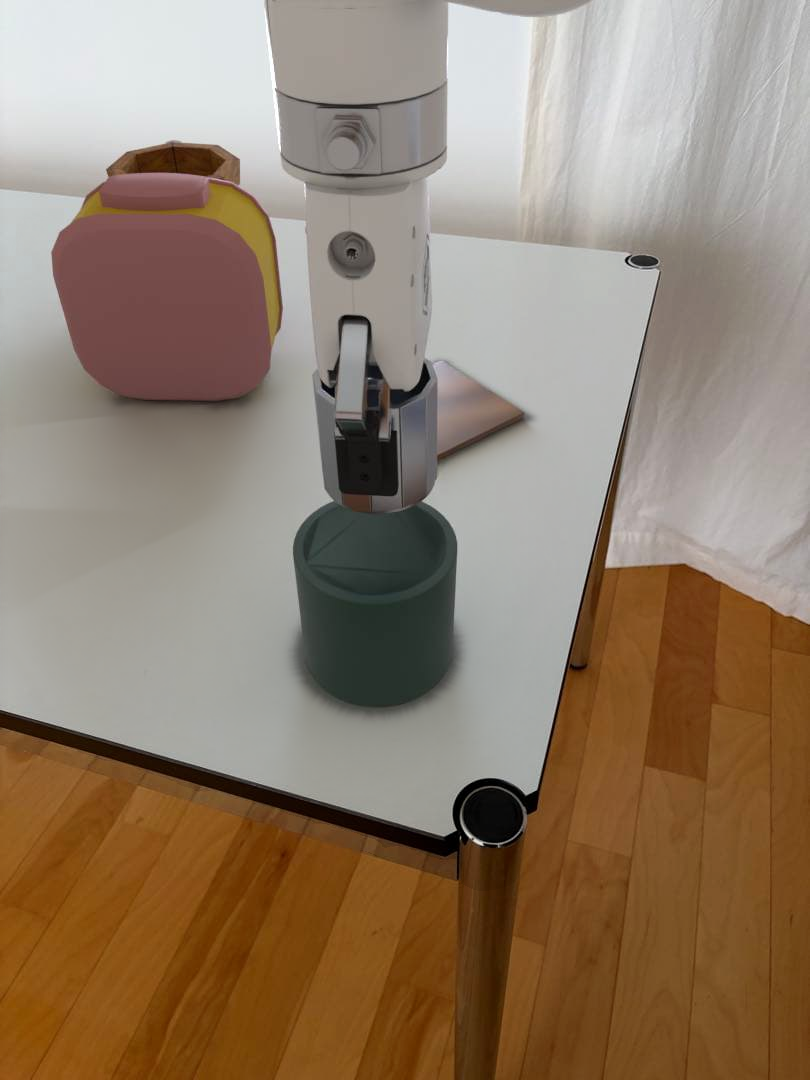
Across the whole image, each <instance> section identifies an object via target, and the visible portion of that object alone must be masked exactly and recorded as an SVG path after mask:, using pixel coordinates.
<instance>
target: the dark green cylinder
mask: <svg viewBox="0 0 810 1080" xmlns="http://www.w3.org/2000/svg"><path fill="white" fill-rule="evenodd" d="M292 558H293V565H294V574H295V583H296V592H297V599H298V600H297V601H298V609H299V617H300V626H301V633H302V641H303V650H304V651H303V652H304V658H305V662H306V666H307V669H308V671H309V673H310V675H311V676H312V678H313V679H314V681H315V682H316V683H317V684H318V685H319V686H320V687H321V688H322V689H323V690H324V691H325V692H327V693H328V694H330V695H331V696H333V697H335V698H337V699H338V700H341V701H343V702H346V703H349V704H352V705H355V706H359V707H361V706H362V707H368V708H383V707H384V708H385V707H393V706H399V705H402V704H405V703H406V704H407V703H409V702H411V701H414V700H415V699H418V698H420V697H421V696H424V695H425V694H427V693H428V692H430V691H431V690H432V689H433V688H434V687H436V686H437V685H438V684H439V682H440V681H441V680H442V679H443V677H444V676H445V675H446V673H447V671H448V670H449V668H450V665H451V662H452V658H453V649H454V648H453V647H454V627H455V625H454V624H455V609H456V608H455V607H456V605H455V604H456V589H457V588H456V586H457V567H458V566H457V565H458V539H457V535H456V533H455V530H454V528H453V526H452V525H451V523H450V521H449V520H448V519H447V517H445V516H444V515H443V514H442V513H441V512H440V511H439V510H437V508H435V507H433V506H432V505H430V504H428V503H426V502H425V501H423V500H422V501H421V502H420V503H418V504H416V505H415V506H413V507H410V508H408V509H405V510H402V511H399V512H395V513H388V514H366V513H360V512H356V511H352V510H350V509H347V508H345V507H343V506H341V505H339V504H338V503H336V502H335V501H334V500H332V501H330V502H327V503H326V504H324V505H322V506H320V507H319V508H317V509H316V510H314V511H313V512H312V513H311V514H310V515H309V516H307V517H306V519H305V520H304V521H303V522H302V523H301V525H300V526H299V527H298V530H297V531H296V534H295V536H294V539H293V544H292Z"/></svg>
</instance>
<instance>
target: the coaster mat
mask: <svg viewBox="0 0 810 1080" xmlns="http://www.w3.org/2000/svg"><path fill="white" fill-rule="evenodd" d="M432 364H433V367H434V370H435V372H436V375H437V378H438V394H437V462H438V461H439V460H442V459H443V458H445V457H448V456H450V455H451V454H454V453H455V452H457V451H459V450H461V449H463V448H465V447H467V446H469V445H471V444H473V443H475V442H477V441H479V440H481V439H484V438H486V437H488V436H489V435H491V434H494V433H496V432H498V431H499V430H502V429H504V428H505V427H507V426H509V425H511V424H514V423H515V422H518V421H519V420H521V419H523V418H524V417H525V412H524V411H523V410H521V409H520V408H519V407H517V406H515V405H514V404H512V403H510V402H509V401H507V400H506V399H504V398H502V397H501V396H500V395H498V394H497V393H495V392H493V391H491V390H490V389H488V388H487V387H485V386H483V385H482V384H481V383H479V382H478V381H475V380H474V379H473V378H471V377H469V376H468V375H466V374H464V373H463V372H461V371H459V370H458V369H456V368H455V367H454V366H452V365H450V364H448V363H447V362H445V361H444V360H439V361H437V362H434V363H432Z"/></svg>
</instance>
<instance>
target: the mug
mask: <svg viewBox="0 0 810 1080" xmlns="http://www.w3.org/2000/svg"><path fill="white" fill-rule="evenodd" d="M105 172H106V175H107V178H108V177H109V176H113V175H123V174H136V173H178V174H191V175H198V176H205V177H206V178H214V179H219V180H224V181H229V182H233V183H235V184H236V185H238V186H239V187H241V159H240V158H239V157H238V156H236V155H235V154H233V153H231V152H229V150H227V149H225V148H223V147H222V146H221V145H219V144H212V143H211V144H210V143H195V142H194V143H193V142H183V141H181V140H177V139H171V140H168V141H166V142H164V143H162V144H157V145H152V146H148V147H143V148H139V149H132V150H127V151H126V152H124V153H123V154H122V155H121V156H119V157H118V158H117V159H116V160H115V161H114V162H113V163H112V164H111V165H109V166H108V167H107V168H106V169H105Z"/></svg>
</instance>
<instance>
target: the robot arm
mask: <svg viewBox="0 0 810 1080" xmlns="http://www.w3.org/2000/svg"><path fill="white" fill-rule="evenodd" d="M592 1H593V0H263V8H264V17H265V26H266V37H267V44H268V45H267V46H268V55H269V64H270V73H271V81H272V83H271V84H272V90H273V100H274V101H273V102H274V109H275V119H276V120H275V121H276V128H277V137H278V146H279V147H278V148H279V153H280V154H279V155H280V164H281V165H280V166H281V167H282V169H283V171H284V172H286V173H287V175H289V176H290V177H292V178H294V179H296V180H298V181H300V182H303V185H304V186H303V187H304V208H305V209H304V210H305V226H304V231H305V234H306V248H307V249H306V252H307V268H308V283H309V294H310V310H311V311H310V312H311V324H312V333H313V342H314V352H315V360H316V364H317V365H316V366H317V368H318V371H319V375H320V379H321V380H322V381H323V382H324V384H326V385H327V386H328V387H330V388H332V387H333V386H334V385H335V432H334V437H335V448H336V460H337V471H338V483H339V490H340V491H341V492H342V493H344V494H354V495H372V496H390V497H391V496H395V495H396V494H397V492H398V487H399V478H398V445H397V431H395V430H391V419H392V389H404V391H410V390H411V389H413V388H414V387H415V386H416V385H417V383H418V382H419V379H420V376H421V371H422V366H423V361H424V357H425V355H426V350H427V345H428V339H429V333H430V327H431V321H432V314H433V312H432V311H433V289H432V288H433V287H432V265H431V264H432V263H431V261H432V259H431V222H430V219H431V218H430V193H429V192H430V191H429V176H431V175H433V174H435V173H436V172H437V171H438V170H441V168H443V166H444V165H445V164H446V162H447V158H448V95H449V93H448V89H449V87H448V86H449V85H448V83H449V81H448V80H449V79H448V74H449V73H448V72H449V70H448V68H449V66H448V65H449V3H450V4H455V5H459V6H463V7H468V8H471V9H475V10H476V9H477V10H481V11H485V12H490V13H495V14H500V15H507V16H512V17H520V18H521V17H522V18H546V17H552V16H558V15H562V14H566V13H569V12H571V11H574V10H577V9H579V8H580V7H583V6H586V5H588V4H589V3H590V2H592ZM369 365H374V366H379V368H380V370H381V372H382V374H383V377H368V372H369ZM367 391H379V417H378V415H377V413H376V412H375V410H368V404H367Z"/></svg>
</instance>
